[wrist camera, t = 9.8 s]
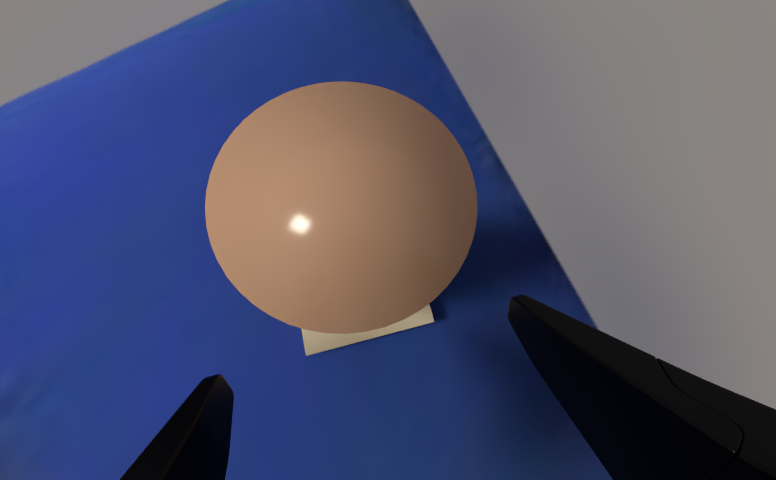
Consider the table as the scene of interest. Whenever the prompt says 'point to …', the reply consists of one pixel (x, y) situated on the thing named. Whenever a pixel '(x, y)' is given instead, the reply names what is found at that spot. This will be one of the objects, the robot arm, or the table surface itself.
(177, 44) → the table surface
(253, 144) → the tan rounded cylinder
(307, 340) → the coaster
